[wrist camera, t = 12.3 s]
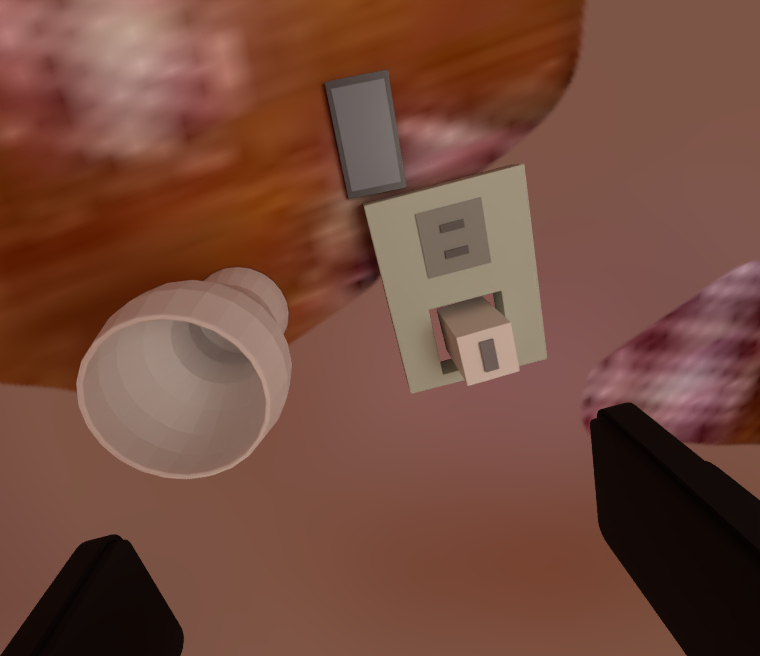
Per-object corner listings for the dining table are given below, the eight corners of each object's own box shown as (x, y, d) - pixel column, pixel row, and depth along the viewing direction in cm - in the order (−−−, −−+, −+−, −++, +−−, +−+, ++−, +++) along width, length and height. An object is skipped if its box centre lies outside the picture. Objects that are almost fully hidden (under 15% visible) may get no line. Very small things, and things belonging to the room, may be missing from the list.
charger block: (436, 308, 37) (457, 339, 30) (481, 295, 37) (512, 323, 30) (446, 349, 39) (468, 387, 32) (489, 337, 39) (520, 372, 32)
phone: (325, 85, 31) (324, 81, 30) (386, 73, 31) (387, 69, 30) (348, 198, 34) (348, 199, 33) (404, 186, 34) (406, 187, 33)
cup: (226, 390, 38) (158, 518, 24) (147, 290, 35) (13, 371, 21) (329, 333, 37) (321, 431, 23) (258, 223, 34) (197, 260, 20)
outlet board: (362, 203, 34) (364, 206, 31) (511, 164, 34) (525, 163, 31) (406, 380, 39) (411, 395, 37) (535, 347, 39) (548, 360, 37)
